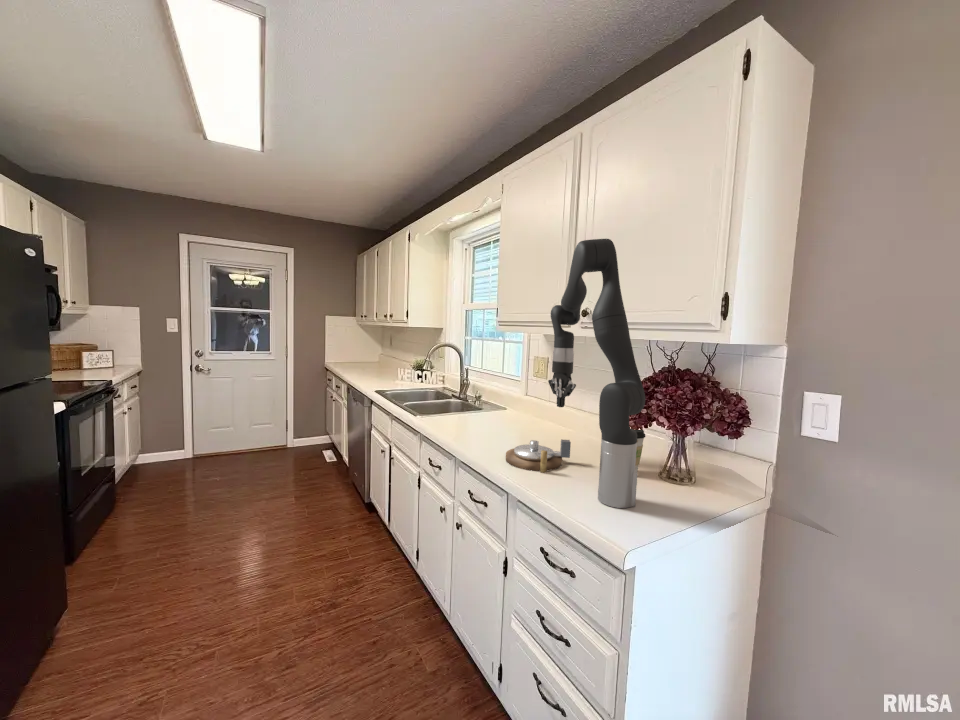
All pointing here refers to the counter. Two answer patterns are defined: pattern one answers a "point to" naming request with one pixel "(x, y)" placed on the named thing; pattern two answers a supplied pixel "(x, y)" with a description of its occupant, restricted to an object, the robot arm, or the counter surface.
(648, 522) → the counter surface
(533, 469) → the base
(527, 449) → the flange plate
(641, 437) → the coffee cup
